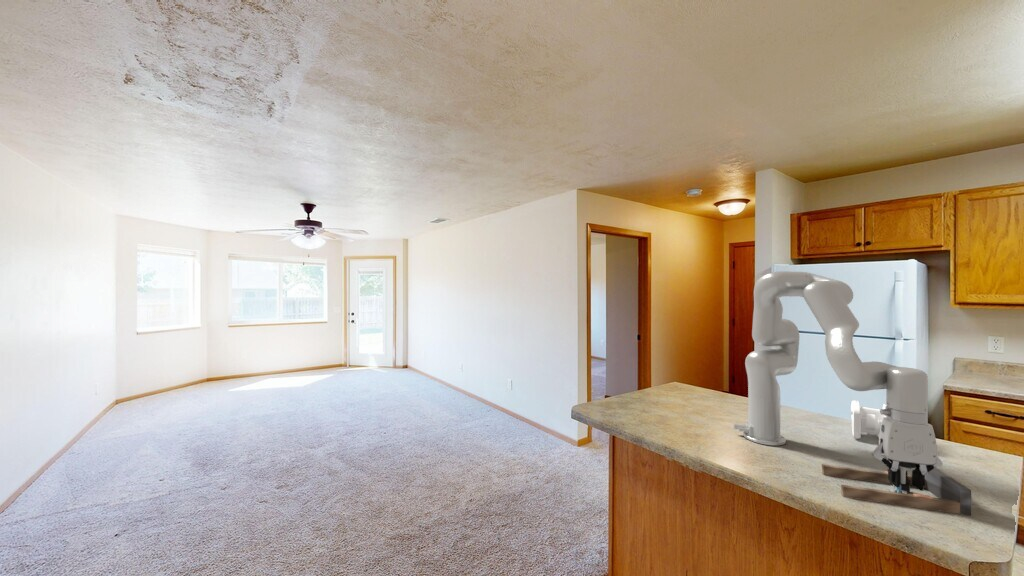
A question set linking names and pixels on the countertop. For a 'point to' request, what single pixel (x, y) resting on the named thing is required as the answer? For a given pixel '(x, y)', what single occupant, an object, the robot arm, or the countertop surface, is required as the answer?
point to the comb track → (936, 481)
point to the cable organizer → (865, 420)
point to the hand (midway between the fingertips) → (905, 485)
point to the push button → (904, 477)
